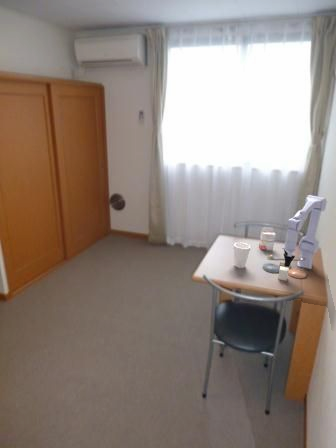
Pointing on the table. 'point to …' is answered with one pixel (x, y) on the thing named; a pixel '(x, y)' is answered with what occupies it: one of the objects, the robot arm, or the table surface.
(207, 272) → the table surface
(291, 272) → the dish terracotta
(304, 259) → the balance
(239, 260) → the foam cup
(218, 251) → the table surface
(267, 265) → the dish slate
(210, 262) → the table surface
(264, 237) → the ink cartridge box
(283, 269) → the cream block
